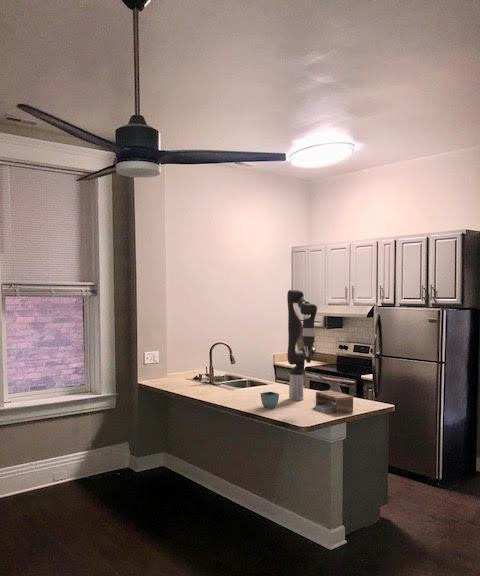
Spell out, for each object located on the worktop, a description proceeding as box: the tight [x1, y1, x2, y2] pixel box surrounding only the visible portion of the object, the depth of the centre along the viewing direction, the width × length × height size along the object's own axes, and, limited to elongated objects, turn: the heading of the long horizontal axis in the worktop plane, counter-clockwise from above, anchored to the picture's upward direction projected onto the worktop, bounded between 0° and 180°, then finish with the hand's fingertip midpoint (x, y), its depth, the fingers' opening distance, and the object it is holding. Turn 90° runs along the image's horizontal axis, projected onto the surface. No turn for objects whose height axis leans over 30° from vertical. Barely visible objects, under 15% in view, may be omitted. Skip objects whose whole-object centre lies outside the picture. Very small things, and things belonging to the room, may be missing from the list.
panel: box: [314, 402, 336, 414], centre depth 312 cm, size 10×16×3 cm, turn 118°
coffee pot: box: [317, 375, 343, 403], centre depth 344 cm, size 21×12×15 cm, turn 38°
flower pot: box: [259, 391, 280, 409], centre depth 318 cm, size 9×9×9 cm
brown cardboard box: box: [315, 389, 354, 415], centre depth 314 cm, size 22×12×10 cm, turn 28°
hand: (308, 362), depth 316 cm, fingers closed
